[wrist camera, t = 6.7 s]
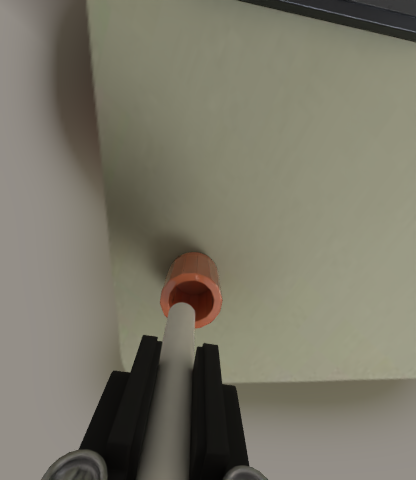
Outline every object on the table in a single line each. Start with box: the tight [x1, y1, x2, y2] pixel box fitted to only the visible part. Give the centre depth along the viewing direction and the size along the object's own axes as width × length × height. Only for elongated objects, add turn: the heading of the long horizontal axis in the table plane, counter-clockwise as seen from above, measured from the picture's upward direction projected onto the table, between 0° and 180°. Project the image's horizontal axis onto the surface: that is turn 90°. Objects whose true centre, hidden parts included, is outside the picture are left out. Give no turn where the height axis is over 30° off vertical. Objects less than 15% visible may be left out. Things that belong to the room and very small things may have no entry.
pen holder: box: [160, 252, 222, 328], centre depth 17 cm, size 4×4×4 cm
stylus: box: [136, 302, 195, 480], centre depth 9 cm, size 1×1×10 cm
